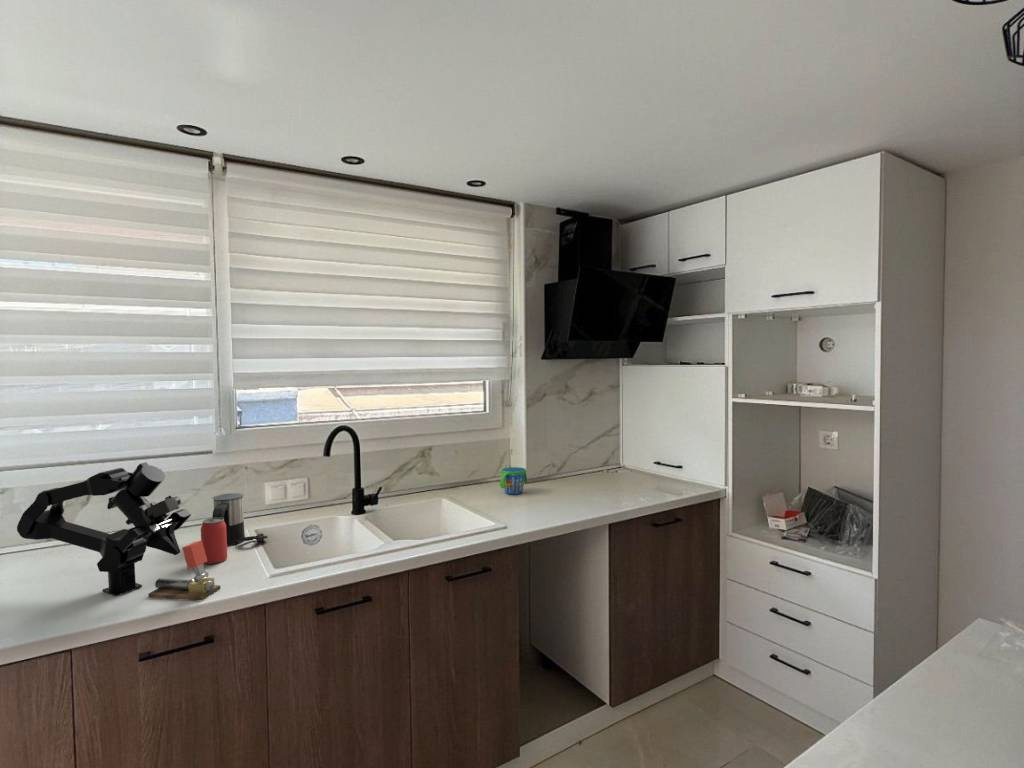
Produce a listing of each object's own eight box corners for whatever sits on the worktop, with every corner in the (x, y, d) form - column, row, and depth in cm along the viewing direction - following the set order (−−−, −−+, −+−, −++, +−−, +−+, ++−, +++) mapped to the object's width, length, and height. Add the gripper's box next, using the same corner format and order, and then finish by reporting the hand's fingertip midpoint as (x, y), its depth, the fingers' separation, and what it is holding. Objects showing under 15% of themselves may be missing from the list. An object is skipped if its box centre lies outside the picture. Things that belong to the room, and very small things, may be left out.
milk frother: (215, 539, 186) (213, 494, 186) (267, 532, 192) (266, 489, 192) (211, 553, 173) (209, 504, 172) (267, 545, 179) (266, 499, 179)
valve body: (152, 592, 143) (152, 580, 143) (164, 585, 147) (164, 574, 147) (205, 595, 141) (205, 583, 141) (216, 588, 145) (215, 577, 145)
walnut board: (148, 597, 142) (148, 593, 142) (169, 586, 149) (169, 582, 148) (201, 600, 139) (201, 596, 139) (220, 589, 146) (220, 585, 146)
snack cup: (518, 487, 252) (518, 464, 252) (535, 491, 245) (535, 468, 244) (491, 494, 241) (491, 470, 241) (509, 498, 234) (509, 473, 233)
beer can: (221, 555, 171) (219, 515, 171) (231, 559, 167) (229, 519, 166) (198, 561, 166) (196, 520, 166) (208, 566, 162) (206, 524, 161)
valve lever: (192, 583, 141) (182, 547, 141) (203, 577, 145) (193, 542, 145) (200, 581, 141) (190, 545, 141) (211, 575, 145) (201, 540, 145)
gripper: (125, 496, 134) (170, 544, 133) (183, 478, 153) (222, 521, 152) (98, 528, 136) (141, 576, 135) (157, 507, 154) (196, 549, 153)
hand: (178, 553), depth 144 cm, fingers closed
